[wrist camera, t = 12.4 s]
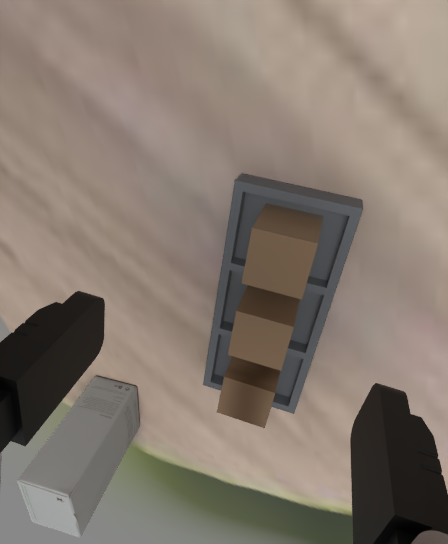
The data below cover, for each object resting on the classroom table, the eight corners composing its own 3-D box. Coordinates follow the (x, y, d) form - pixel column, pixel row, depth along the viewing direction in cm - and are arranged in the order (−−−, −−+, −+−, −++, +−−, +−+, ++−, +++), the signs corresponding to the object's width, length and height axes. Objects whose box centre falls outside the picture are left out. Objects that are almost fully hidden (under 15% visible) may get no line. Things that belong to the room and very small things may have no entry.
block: (231, 372, 45) (216, 412, 40) (239, 338, 43) (224, 376, 38) (274, 385, 45) (264, 428, 40) (284, 352, 42) (275, 393, 37)
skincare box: (95, 373, 54) (12, 477, 40) (140, 385, 52) (69, 496, 39) (101, 416, 58) (27, 523, 45) (143, 428, 56) (79, 542, 43)
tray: (209, 370, 48) (189, 415, 42) (241, 173, 35) (219, 196, 29) (296, 397, 46) (288, 448, 40) (362, 199, 34) (364, 230, 28)
